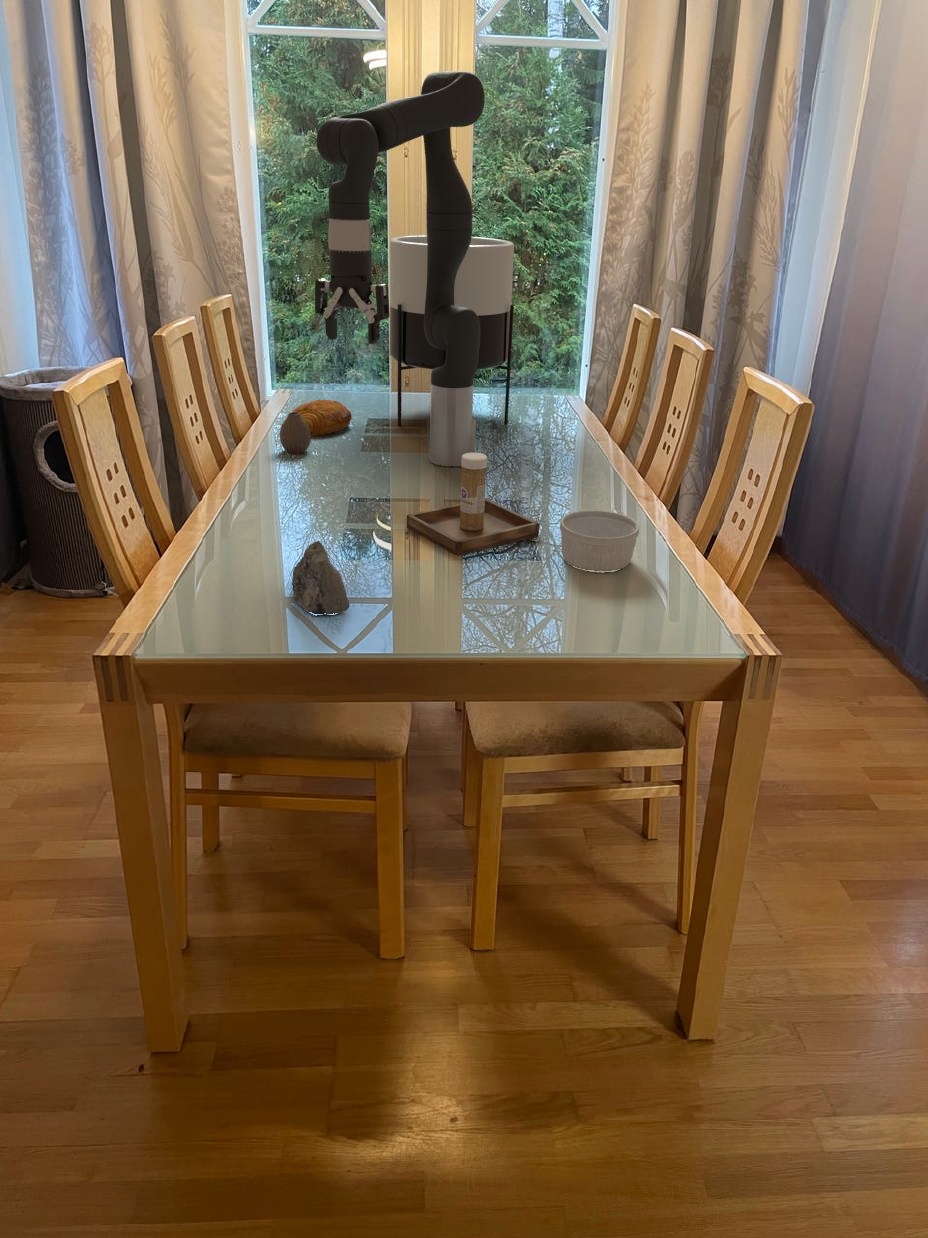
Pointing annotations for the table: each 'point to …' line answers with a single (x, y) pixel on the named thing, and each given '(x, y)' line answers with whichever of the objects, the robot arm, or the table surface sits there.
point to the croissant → (324, 416)
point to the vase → (295, 434)
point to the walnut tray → (496, 532)
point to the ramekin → (598, 539)
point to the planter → (476, 288)
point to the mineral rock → (318, 583)
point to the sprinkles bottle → (473, 491)
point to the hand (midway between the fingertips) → (352, 341)
